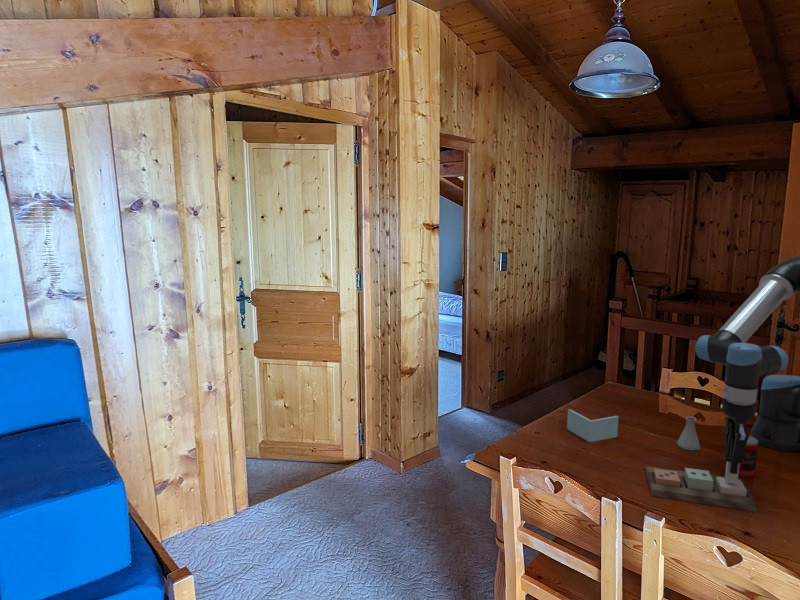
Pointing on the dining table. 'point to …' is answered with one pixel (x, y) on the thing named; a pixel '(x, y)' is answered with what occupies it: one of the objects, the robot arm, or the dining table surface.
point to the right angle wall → (592, 427)
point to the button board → (700, 493)
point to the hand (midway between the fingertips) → (730, 482)
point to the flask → (689, 436)
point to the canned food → (747, 459)
